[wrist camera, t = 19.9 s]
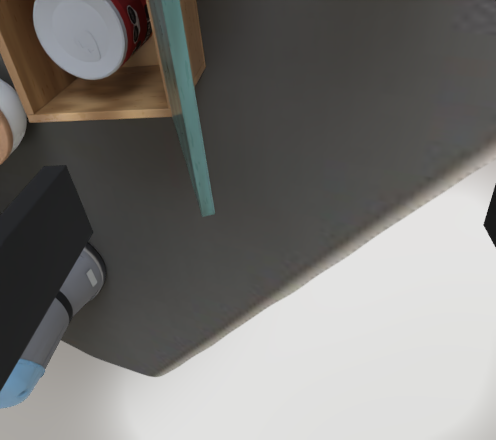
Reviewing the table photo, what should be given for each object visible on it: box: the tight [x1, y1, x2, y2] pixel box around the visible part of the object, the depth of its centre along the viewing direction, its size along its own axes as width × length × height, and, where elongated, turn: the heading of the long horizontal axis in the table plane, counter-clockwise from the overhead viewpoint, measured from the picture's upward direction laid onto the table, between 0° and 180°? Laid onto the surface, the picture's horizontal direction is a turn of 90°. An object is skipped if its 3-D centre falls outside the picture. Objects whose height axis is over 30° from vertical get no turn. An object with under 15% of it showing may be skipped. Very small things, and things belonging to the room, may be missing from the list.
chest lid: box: [149, 0, 215, 217], centre depth 27 cm, size 15×16×1 cm
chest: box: [0, 0, 206, 123], centre depth 39 cm, size 14×16×13 cm
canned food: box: [33, 0, 153, 80], centre depth 40 cm, size 8×8×11 cm
